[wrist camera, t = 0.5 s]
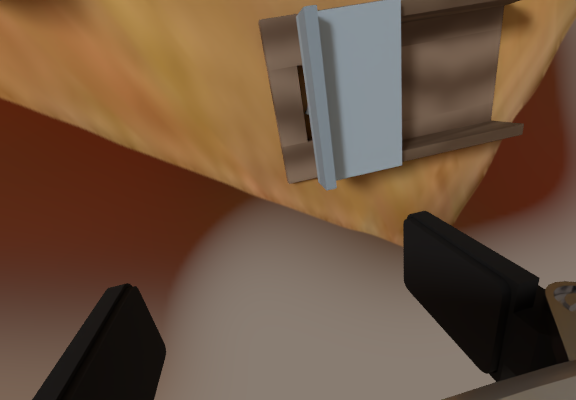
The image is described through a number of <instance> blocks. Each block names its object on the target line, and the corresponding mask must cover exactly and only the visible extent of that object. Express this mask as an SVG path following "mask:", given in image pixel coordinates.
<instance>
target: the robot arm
mask: <svg viewBox="0 0 576 400" xmlns="http://www.w3.org/2000/svg"><path fill="white" fill-rule="evenodd" d="M538 282H539V277H537V276H535V275H534V274H532V273H530V272H528V271H527V270H525V269H523V268H522V267H520V266H518V265H517V264H515V263H513V262H511V261H510V260H508V259H506V258H505V257H503V256H501V255H499V254H498V253H496V252H495V251H493V250H491V249H489V248H488V247H486V246H485V245H483V244H481V243H479V242H478V241H476V240H474V239H473V238H471V237H469V236H468V235H466V234H464V233H463V232H461V231H459V230H457V229H456V228H454V227H452V226H451V225H449V224H447V223H446V222H444V221H442V220H441V219H439V218H437V217H436V216H434V215H432V214H431V213H429V212H427V211H422V212H417V213H413V214H409V215H408V217H407V219H406V220H404V283H405V285H406V287H407V289H408V290H409V291H410V293H411V294H412V295H413V296H414V297H415V298H416V299H417V300H418V301H419V303H420V304H421V305H422V306H423V307H424V308H425V309H426V310H427V311H428V313H429V314H430V315H431V316H432V317H433V318H434V319H435V320H436V321H437V323H438V324H439V325H440V326H441V327H442V328H443V329H444V330H445V331H446V333H447V334H448V335H449V336H450V337H451V338H452V339H453V340H454V341H455V343H456V344H457V345H458V346H459V347H460V348H461V349H462V350H463V351H464V352H465V354H466V355H467V356H468V357H469V358H470V359H471V360H472V361H473V362H474V364H475V365H476V366H477V367H478V368H479V369H480V370H481V371H482V372H484V373H489V374H490V375H491V376H492V378H493V379H494V380H496V382H495V383H492V384H490V385H486V386H483V387H480V388H477V389H473V390H471V391H467V392H464V393H461V394H458V395H455V396H452V397H449V398H445V399H442V400H576V282H566V281H564V282H555V283H552V284H550V285H548V287H547V288H546V289H543V288H542V287H540V286H539V285H538ZM165 355H166V348H165V344H164V342H163V340H162V338H161V336H160V333H159V331H158V329H157V327H156V325H155V323H154V321H153V319H152V317H151V315H150V312H149V310H148V308H147V306H146V304H145V302H144V300H143V298H142V295H141V293H140V291H139V290H138V288H137V287H136V286H134V287H132V285H130V284H128V283H127V284H123V285H119V286H115V287H111V288H108V289H107V290H106V291H105V293H104V294H103V296H102V297H101V299H100V300H99V302H98V303H97V305H96V306H95V308H94V309H93V310H92V312H91V313H90V315H89V316H88V318H87V319H86V321H85V322H84V324H83V325H82V327H81V328H80V330H79V331H78V333H77V334H76V336H75V337H74V339H73V340H72V342H71V343H70V345H69V346H68V347H67V349H66V351H65V352H64V353H63V355H62V356H61V358H60V359H59V361H58V362H57V364H56V365H55V367H54V368H53V370H52V371H51V373H50V374H49V376H48V377H47V379H46V380H45V382H44V383H43V385H42V386H41V388H40V389H39V390H38V392H37V394H36V395H35V397H34V398H33V399H32V400H154V397H155V393H156V390H157V386H158V382H159V379H160V375H161V371H162V367H163V364H164V360H165Z"/></svg>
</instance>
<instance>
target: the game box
mask: <svg viewBox="0 0 576 400" xmlns="http://www.w3.org/2000/svg"><path fill="white" fill-rule="evenodd" d="M380 1H383V0H380ZM517 1H520V0H401V90H402V162H404V161H408V160H413V159H417V158H421V157H426V156H430V155H435V154H439V153H443V152H448V151H452V150H456V149H461V148H465V147H470V146H474V145H478V144H483V143H487V142H492V141H496V140H500V139H505V138H509V137H513V136H518V135H522V132H523V126H524V124H519V123H510V122H500V121H491V115H492V106H493V98H494V89H495V80H496V72H497V63H498V54H499V46H500V37H501V29H502V20H503V11H504V6H505V5H508V4H511V3H514V2H517ZM374 2H377V1H374ZM368 3H371V2H368ZM362 4H364V3H362ZM356 5H358V4H356ZM349 6H352V5H349ZM343 7H346V6H343ZM337 8H340V7H337ZM331 9H333V8H331ZM324 10H327V9H324ZM318 11H321V10H318ZM297 15H298V14H293V15H287V16H281V17H275V18H268V19H262V20H259V28H260V33H261V39H262V44H263V50H264V55H265V61H266V66H267V71H268V77H269V82H270V88H271V93H272V99H273V104H274V110H275V115H276V121H277V126H278V132H279V137H280V142H281V148H282V153H283V159H284V164H285V170H286V175H287V181H288V183H289V184H290V183H295V182H299V181H304V180H308V179H313V178H317V177H318V176H317V168H316V161H315V154H314V146H313V139H310V140H307V134H306V127H305V120H304V113H303V106H302V99H301V92H300V85H299V78H298V71H297V66H301V65H302V58H301V51H300V44H299V36H298V29H297V22H296V16H297Z"/></svg>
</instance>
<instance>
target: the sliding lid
mask: <svg viewBox="0 0 576 400" xmlns="http://www.w3.org/2000/svg"><path fill="white" fill-rule="evenodd" d="M296 22H297V29H298V36H299V44H300V51H301V58H302V66H303V73H304V80H305V88H306V95H307V102H308V110H309V117H310V124H311V132H312V139H313V146H314V154H315V161H316V168H317V176H318V182H319V183H320V184H321V185H322V186H323V187H324V188H325V189H326V190H330V189H335V188H337V187H336V180H340V179H345V178H349V177H353V176H358V175H362V174H366V173H371V172H375V171H379V170H384V169H388V168H392V167H397V166H401V165H402V90H401V0H383V1H377V2H371V3H364V4H358V5H352V6H346V7H340V8H333V9H327V10H321V11H317V5H312V6H306V7H303V8H302V10H301V11H300V12H299V13H298V15H297V16H296Z"/></svg>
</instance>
